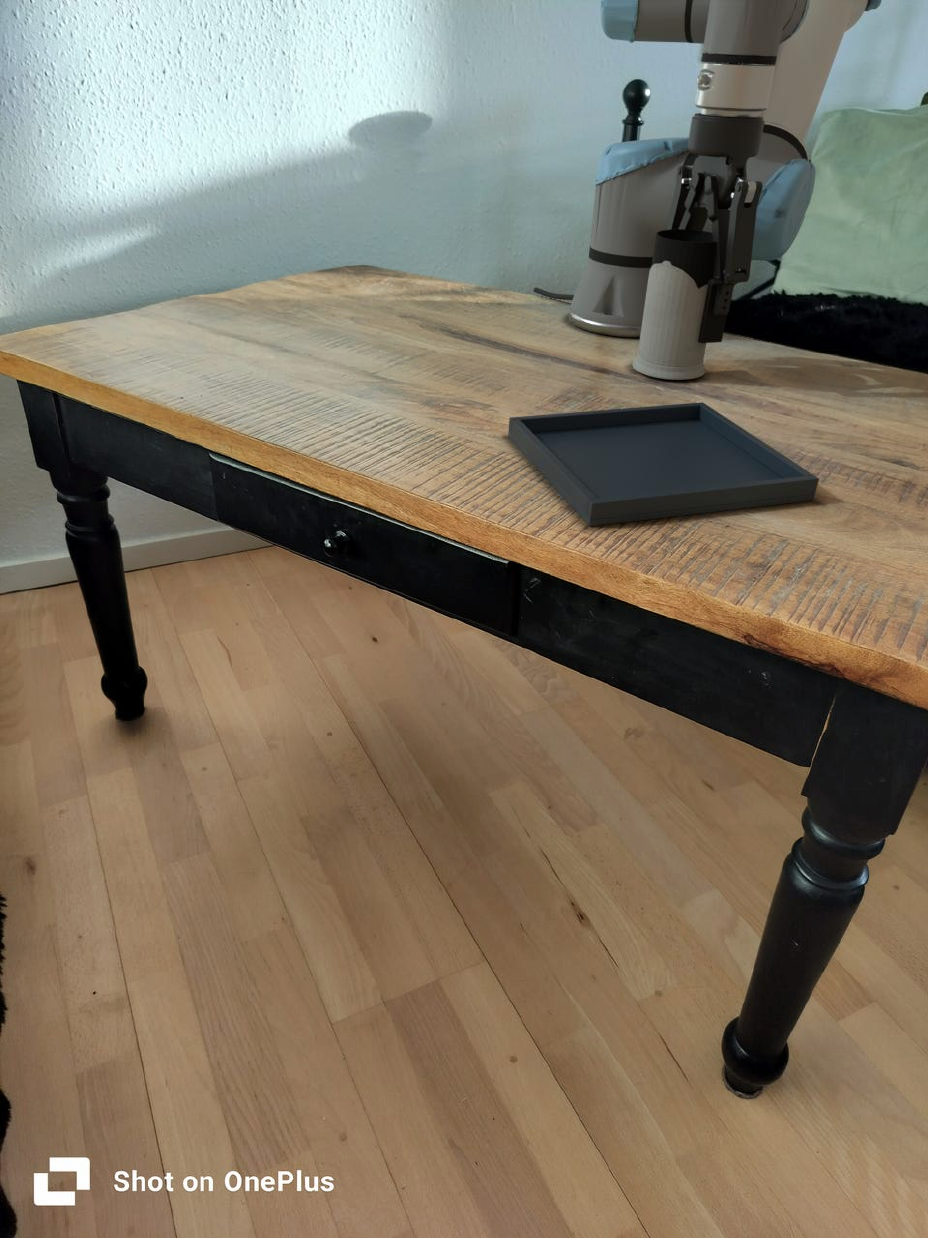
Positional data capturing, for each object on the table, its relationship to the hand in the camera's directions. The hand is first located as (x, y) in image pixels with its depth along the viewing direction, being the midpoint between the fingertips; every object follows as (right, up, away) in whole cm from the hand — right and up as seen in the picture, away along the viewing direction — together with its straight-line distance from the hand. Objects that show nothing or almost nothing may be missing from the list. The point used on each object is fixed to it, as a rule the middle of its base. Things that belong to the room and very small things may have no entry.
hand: (690, 330), depth 104 cm
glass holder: (0, -3, +3) cm, 4 cm away
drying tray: (-10, -20, -23) cm, 32 cm away
